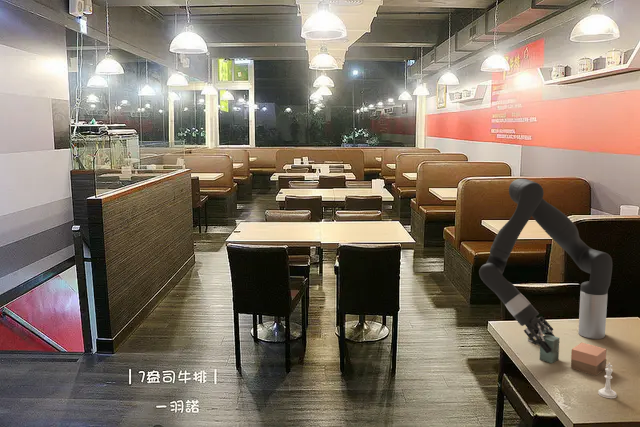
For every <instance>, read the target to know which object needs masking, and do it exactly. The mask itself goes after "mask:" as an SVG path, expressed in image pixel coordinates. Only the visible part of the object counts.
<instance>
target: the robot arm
mask: <svg viewBox="0 0 640 427" xmlns="http://www.w3.org/2000/svg"><path fill="white" fill-rule="evenodd" d="M544 193H545V192H544V188H543V187H542V185H541V184H540V183H538V182H535V181H533V180H531V179H527V178H517V179H515V180H513V181H511V183H510V184H509V186H508V194H509V197H510V200H512V201H513V202H514V203H515V204H517V205H516V208H515V211H514V213H513V214H512V216H511V217H510V218H509V220H508V221H507V222H506V223H505V224H504V225H503V226H502V227H501V228H500V229H499V231H498V232H497V234H496V236H495V237H494V240H493V242H492V244H491V246H490V249H489V256H488V259H487V261H486V262H485V263H484V264H482V265H481V266H480V267H479V270H478V274H479V278H480V279H481V281H482V282H483V284H485V286H487V287H488V289H490V290H491V291H492V292H493V293H494V294H495V295H496V297H498V299H499V300H500V301H501V303H503V305H504V306H505V307H506V309H507V310H508V312H509V313H510V314H511V315H512V317H513V318H514V319H515V321H517V323H518V324H519V325H520V326H521V327H524V326H525V327H526V328H525V329H524V330H523V332H524V333H525V335H527V338H528V337H529V338H530V339H531V341H532V342H531V343H533V345H536V346H537V345H538V346H539V347H540V346H541V347H542V348H543V349H544V351H545V352H546V353H549V352H551V351H552V348H551V347H550V346H549V345H548V344H547V342H546V341H544V338H543V336H545V335H546V334H548V335H551V336H555V335H554V332H553V331H554V328H553V327H552V325H551V324H550V323H549V322H548V321H547V320H546V318H544V316H539V314H540V313H539V311H538V310H537V309H536V308H535V307H534V305H532V304H531V302H530V301H529V300H528V299H527V298H526V297H525V295H523V294H522V293H521V291H519V290H518V288H517V287H516V285H514V284H513V283H512V282H510V281H509V280H508V279H507V278H505V276H504V275H503V273H504V271H505V269H506V266H507V262H508V259H509V258H510V256H511V253H512V251H513V249H514V247H515V245H516V242H517V241H518V239H519V237H520V235H521V232H522V231H523V230H524V228H525V227H526V225H527V224H528V222H529V220H530V219H531V218H533V220H535V222H536V223H537V224H538V225H539V226H540V227H541V229H543V231H544V232H545V233H546V234H547V235H548V237H550V238H551V239H552V240H553V241H554V242H555V243H557V245H559V247H560V248H562V250H564V251H565V252H566V253H567V254H568V256H570V258H571V260H573V262H574V263H575V264H576V266H577V267H578V268H579V269H580V270H581V271H583V272H585V273H587V274H590V276H589V281H588V280H587V281H584V282H582V283H581V284H580V293H579V294H580V296H579V310H578V313H579V315H578V318H579V319H578V331H577V332H578V335H580V336H581V337H584V338H586V339H593V340H600V339H604V338H605V337H606V325H607V311H608V309H607V307H608V293H609V292H608V291H609V288H610V286H611V281H612V273H613V258H612V256H611V255H610V254H609V253H607V252H604V251H600V250H599V249H597V250H596V249H593V248H592V247H590V246H588V245H587V244H586V243H585V242H584V241H583V240H582V239H581V237H580V234H579V230H578V227H577V225H576V224H575V223H574V222H573V221H572V220H571V219H570V218H569V216H568V215H566V214H565V213H564V212H562V211H561V210H560V209H558V208H557V207H556V206H553V205H552V204H551V203H549V202H547V200H545V199H544ZM538 316H539V317H538ZM539 337H540V338H539ZM533 338H534V339H535V340H534V339H533ZM559 344H560V341H559Z"/></svg>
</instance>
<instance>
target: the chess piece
mask: <svg viewBox="0 0 640 427" xmlns="http://www.w3.org/2000/svg"><path fill="white" fill-rule="evenodd" d="M604 370H605V373H606V374H604V378H605V386H604V387H602V388H600V389H598V391H597V393H598V395H599V396H600V397H603V398H607V399H615V398H617V392H616V391H614V390H613V389H612V387H611V379H613V376H612V373H613V371H614V370H613V365H612V364H611V362H608V364H607V363H606V368H605V369H604Z"/></svg>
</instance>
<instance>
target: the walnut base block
mask: <svg viewBox="0 0 640 427" xmlns="http://www.w3.org/2000/svg"><path fill="white" fill-rule="evenodd" d="M570 359H571V358H570ZM606 364H607V359H605V360H604V361H602V362H601V363H600V364H599V365H597V366H593V365H590V364H586V363H583V362H580V361H576V360H573V359H571V360H570V369H573V370H576V371H578V372H582V373H586V374H589V375H592V376H595V377H596V376H597V375H598V374H600V373H601V372H603V371H604V370H605V368H607V366H606Z"/></svg>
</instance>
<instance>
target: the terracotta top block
mask: <svg viewBox="0 0 640 427" xmlns="http://www.w3.org/2000/svg"><path fill="white" fill-rule="evenodd" d="M606 358H607V349H606V348H603V347H599V346H597V345H593V344H588V343H586V342H580V343H578V344H577V345H576V346H574V347H572V349H571V355H570V359H573V360H576V361H580V362H583V363H586V364H590V365H593V366H597V365H599V364H600V363H601V362H602V361H604V360H605V359H606ZM606 360H607V359H606Z"/></svg>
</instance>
